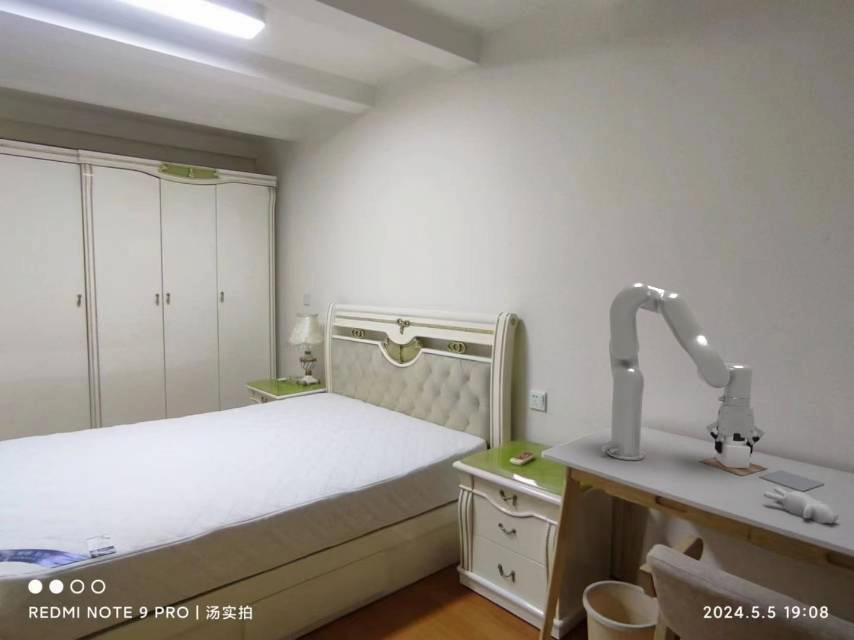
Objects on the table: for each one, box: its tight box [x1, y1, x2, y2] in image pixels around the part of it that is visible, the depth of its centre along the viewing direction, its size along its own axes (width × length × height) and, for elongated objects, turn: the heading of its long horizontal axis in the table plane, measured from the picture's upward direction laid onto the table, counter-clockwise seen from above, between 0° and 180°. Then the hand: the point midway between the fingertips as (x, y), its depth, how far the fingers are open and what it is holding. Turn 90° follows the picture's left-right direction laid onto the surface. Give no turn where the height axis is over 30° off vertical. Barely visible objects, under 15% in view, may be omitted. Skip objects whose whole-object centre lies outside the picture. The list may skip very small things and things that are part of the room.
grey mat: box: [758, 469, 825, 493], centre depth 153 cm, size 12×12×1 cm
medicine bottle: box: [716, 433, 751, 469], centre depth 166 cm, size 7×7×12 cm
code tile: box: [699, 456, 768, 477], centre depth 166 cm, size 14×14×1 cm
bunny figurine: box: [763, 486, 839, 524], centre depth 132 cm, size 10×5×15 cm
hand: (733, 453), depth 166 cm, fingers closed on medicine bottle, 8 cm apart
